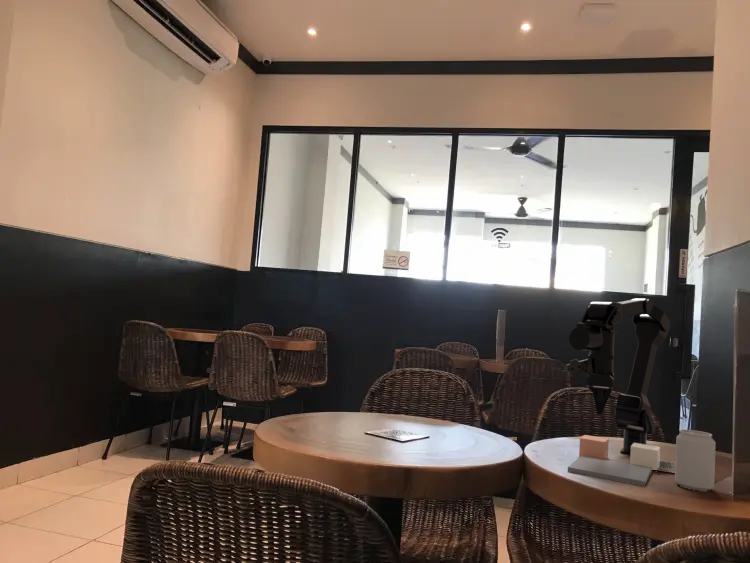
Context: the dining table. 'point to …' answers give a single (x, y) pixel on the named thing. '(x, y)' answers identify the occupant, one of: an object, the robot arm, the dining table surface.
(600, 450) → the brick terracotta
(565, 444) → the dining table surface
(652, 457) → the brick cream
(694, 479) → the can
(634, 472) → the baseplate
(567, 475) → the dining table surface
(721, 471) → the dining table surface
